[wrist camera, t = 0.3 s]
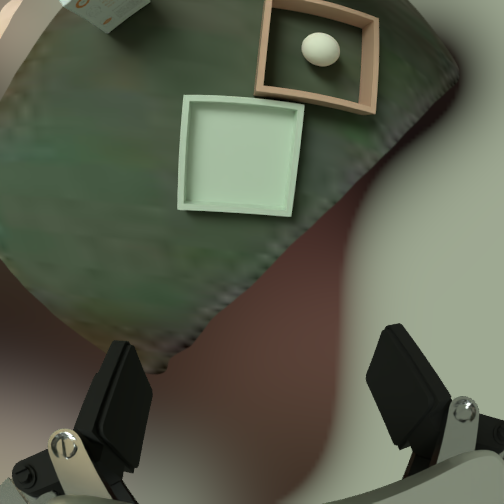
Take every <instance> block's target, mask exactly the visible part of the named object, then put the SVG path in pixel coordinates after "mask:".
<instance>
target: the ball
mask: <svg viewBox="0 0 504 504" xmlns="http://www.w3.org/2000/svg"><path fill="white" fill-rule="evenodd" d="M302 53H303V55H304V57H305V58H306V60H307V61H309V62H310V63H312V64H314V65H317V66H329V65H331V64H333V63H334V62H335V61H336V60H337V59H338V57H339V55H340V48H339V45H338V43H337V41H336V40H335V39H334V38H333V37H331V36H330V35H328V34H325V33H313V34H311V35H309V36H307V37H306V38H305V39H304V41H303V43H302Z"/></svg>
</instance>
